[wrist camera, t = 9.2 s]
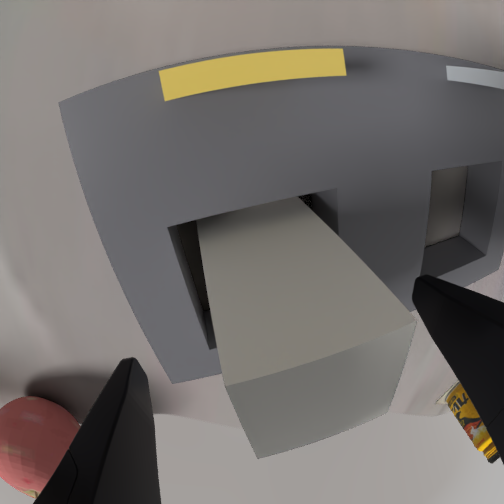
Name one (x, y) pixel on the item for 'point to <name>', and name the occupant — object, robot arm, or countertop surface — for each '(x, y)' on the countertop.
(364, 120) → the socket plate
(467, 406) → the condiment
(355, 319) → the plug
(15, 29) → the countertop surface
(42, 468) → the apple
